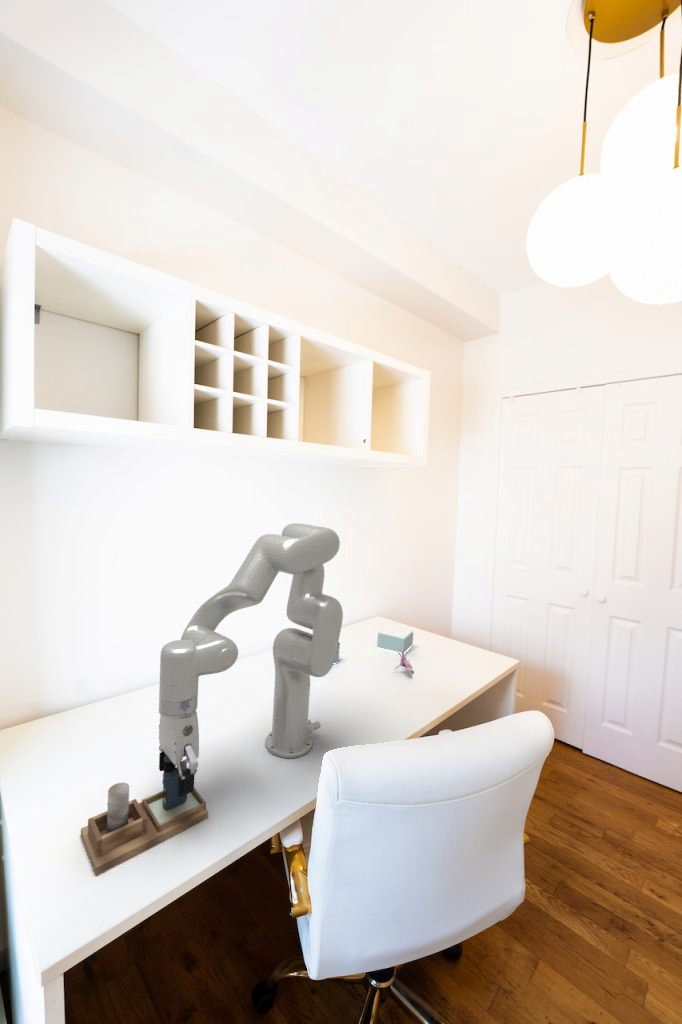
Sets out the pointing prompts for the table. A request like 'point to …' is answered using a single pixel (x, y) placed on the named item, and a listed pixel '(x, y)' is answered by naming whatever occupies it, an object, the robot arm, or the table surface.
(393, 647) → the right angle wall
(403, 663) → the lily
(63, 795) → the table surface
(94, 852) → the holder
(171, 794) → the vaping device
